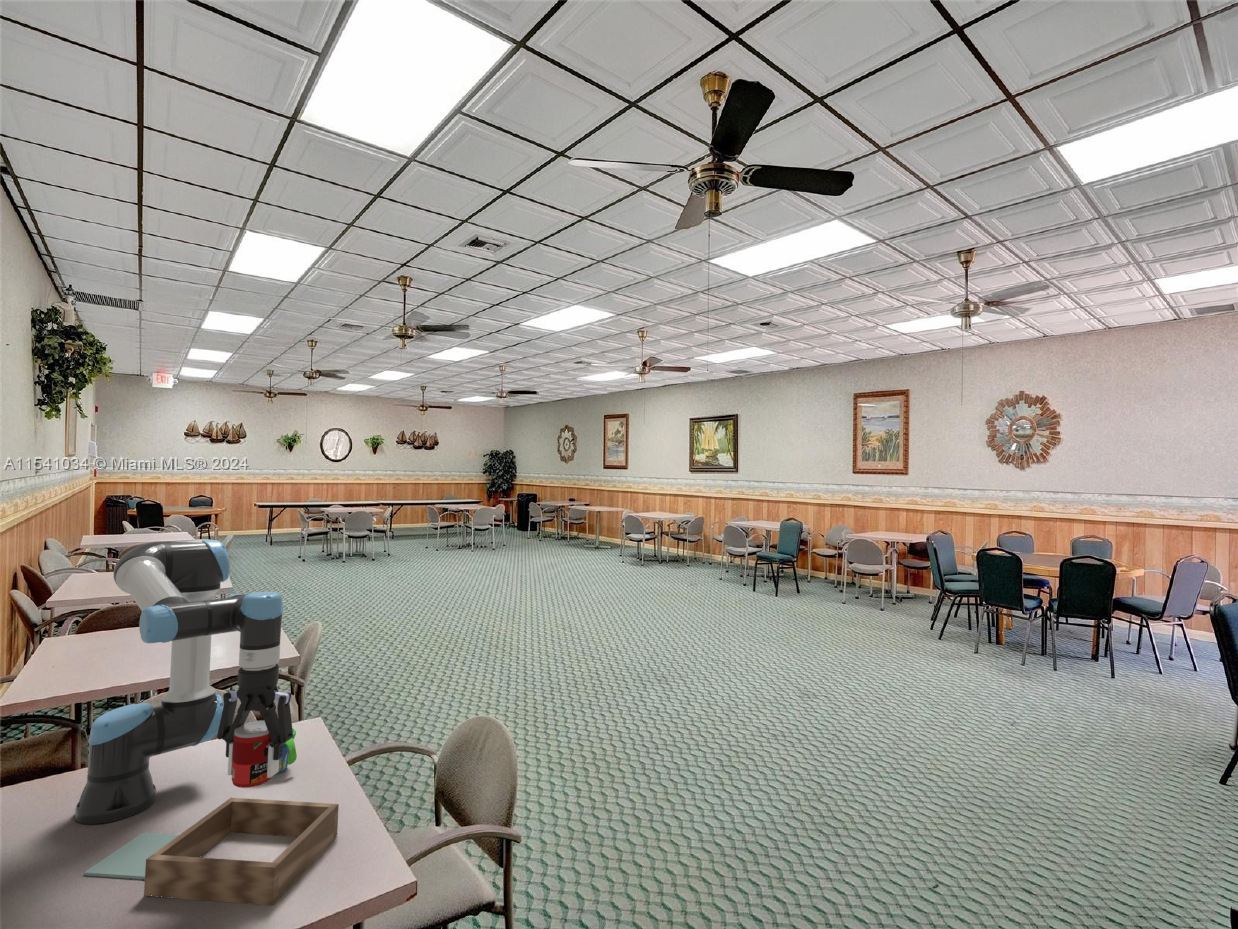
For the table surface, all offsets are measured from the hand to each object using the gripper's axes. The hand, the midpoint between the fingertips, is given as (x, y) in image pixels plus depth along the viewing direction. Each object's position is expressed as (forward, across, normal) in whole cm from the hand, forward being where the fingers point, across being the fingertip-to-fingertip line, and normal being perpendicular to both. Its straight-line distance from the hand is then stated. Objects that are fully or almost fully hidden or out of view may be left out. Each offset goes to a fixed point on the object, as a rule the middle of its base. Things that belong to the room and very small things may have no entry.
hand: (253, 773), depth 126 cm
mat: (+19, -23, 0) cm, 30 cm away
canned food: (+2, 0, 0) cm, 2 cm away
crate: (+19, 0, 0) cm, 19 cm away
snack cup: (+19, -21, +39) cm, 48 cm away
